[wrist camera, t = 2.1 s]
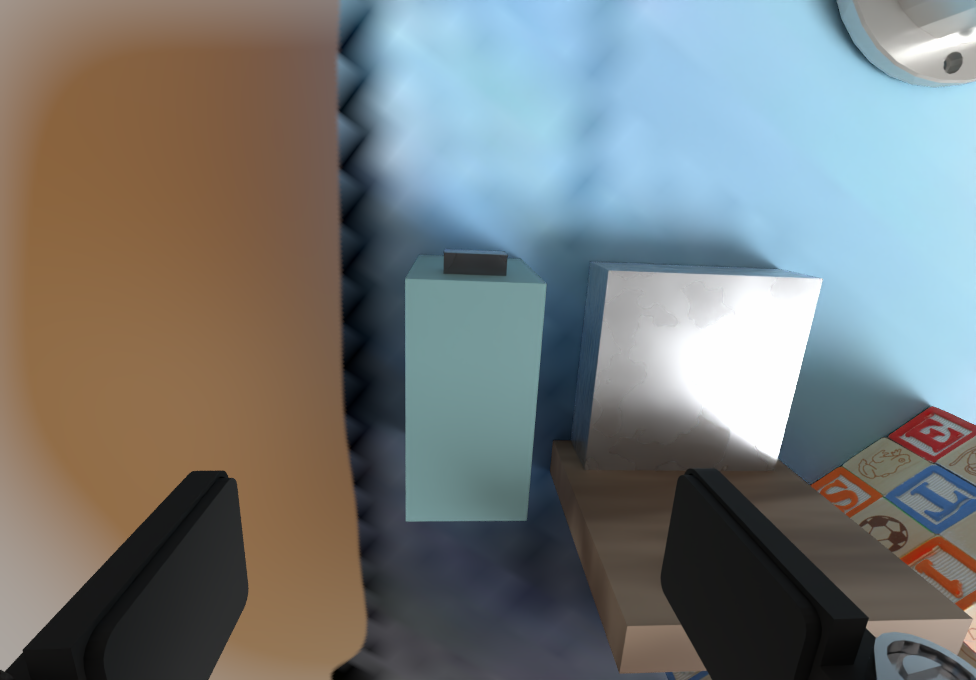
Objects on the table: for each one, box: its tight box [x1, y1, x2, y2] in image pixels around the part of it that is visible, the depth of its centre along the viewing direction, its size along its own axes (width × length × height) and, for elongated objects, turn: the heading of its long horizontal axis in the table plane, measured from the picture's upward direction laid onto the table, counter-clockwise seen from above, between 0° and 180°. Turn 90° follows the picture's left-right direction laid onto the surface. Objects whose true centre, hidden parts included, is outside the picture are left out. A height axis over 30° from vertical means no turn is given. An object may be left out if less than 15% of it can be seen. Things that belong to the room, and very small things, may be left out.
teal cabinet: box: [405, 249, 547, 521], centre depth 21 cm, size 11×5×7 cm, turn 177°
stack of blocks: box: [665, 406, 976, 680], centre depth 24 cm, size 21×6×12 cm, turn 129°
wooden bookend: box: [550, 261, 973, 673], centre depth 20 cm, size 12×12×12 cm
